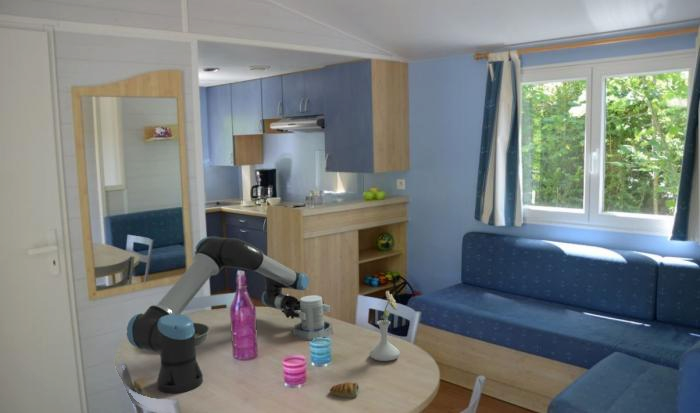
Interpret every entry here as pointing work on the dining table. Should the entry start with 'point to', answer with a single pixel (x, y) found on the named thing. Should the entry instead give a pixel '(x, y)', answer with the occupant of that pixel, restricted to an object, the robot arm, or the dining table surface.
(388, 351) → the flower in vase
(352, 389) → the pastry
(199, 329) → the cake pan
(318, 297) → the supplement tub
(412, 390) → the dining table surface
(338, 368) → the dining table surface
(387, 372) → the dining table surface
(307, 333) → the grey pet bowl
